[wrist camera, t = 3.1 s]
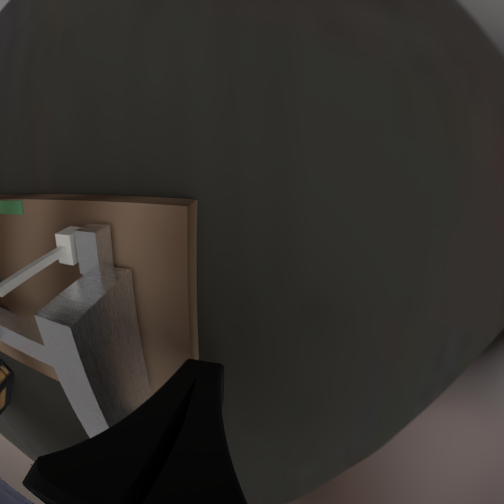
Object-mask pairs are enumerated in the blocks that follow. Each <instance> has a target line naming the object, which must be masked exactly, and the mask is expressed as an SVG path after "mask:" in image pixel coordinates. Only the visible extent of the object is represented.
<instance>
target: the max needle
mask: <svg viewBox="0 0 504 504" xmlns="http://www.w3.org/2000/svg"><path fill="white" fill-rule="evenodd" d="M79 228H81V227H74V226H69V227H67V228H65V229H63V230H61V231H59V232H57V233H55V238H56V245H57V248H55V249H54V250H52V251H50V252H49V253H47V254H45V255H43V256H42V257H40V258H38V259H37V260H35V261H34V262H32V263H30V264H29V265H27V266H25V267H24V268H22V269H21V270H19V271H17V272H16V273H14V274H13V275H11V276H10V277H8V278H7V279H5V280H4V281H2V282H1V283H0V297H3V296H5V295H6V294H7V293H9V292H10V291H12V290H13V289H14V288H16V287H17V286H19V285H20V284H22V283H23V282H24V281H26V280H27V279H29V278H30V277H32V276H33V275H35V274H36V273H38V272H39V271H41V270H42V269H44V268H45V267H47V266H49V265H50V264H52V263H53V262H55V261H56V260H58V259H59V263H63V264H68V265H73V266H74V265H75V264H77V263H78V256H77V248H76V241H75V232H74V231H75V230H77V229H79Z"/></svg>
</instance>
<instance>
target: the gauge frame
mask: <svg viewBox="0 0 504 504" xmlns="http://www.w3.org/2000/svg"><path fill="white" fill-rule="evenodd" d="M197 202H198V200H195V199H181V198H164V197H145V196H122V195H90V194H6V195H0V283H1V282H2V281H4V280H5V279H7V278H8V277H10V276H11V275H13V274H14V273H16V272H17V271H19V270H21V269H22V268H24V267H25V266H27V265H29V264H30V263H32V262H34V261H35V260H37V259H38V258H40V257H42V256H43V255H45V254H47V253H49V252H50V251H52V250H54V249H55V248H57V245H56V238H55V233H57V232H59V231H61V230H63V229H65V228H67V227H69V226H74V227H83V226H85V225H87V224H89V223H96V224H107V225H110V232H111V244H112V254H113V263H114V267H118V268H124V269H131V273H132V282H133V290H134V298H135V306H136V313H137V320H138V326H139V332H140V338H141V344H142V349H143V355H144V360H145V365H146V370H147V374H148V379H149V384H150V388H151V392H152V394H151V396H152V395H153V394H154V393H155V392H156V391H157V390H158V389H159V388H161V387H162V386H163V385H164V384H165V383H166V382H167V381H168V380H169V379H170V377H171V376H172V375H173V374H174V373H175V372H176V371H177V370H178V369H179V368H180V367H181V365H182V364H183V363H184V362H185V361H186V360H187V359H189V358H190V359H195V360H199V351H198V323H197ZM83 275H84V274H80V268H79V262H78V263H77V264H75V265H74V266H73V265H68V264H63V263H59V259H58V260H56V261H55V262H53V263H52V264H50V265H49V266H47V267H45V268H44V269H42V270H41V271H39V272H38V273H36V274H35V275H33V276H32V277H30V278H29V279H27V280H26V281H24V282H23V283H22V284H20V285H19V286H17V287H16V288H14V289H13V290H12V291H10V292H9V293H7V294H6V295H5V296H3V297H0V307H1V308H3V309H5V310H8V311H10V312H12V313H15V314H17V315H19V316H22V317H24V318H27V319H29V320H32V321H34V322H36V319H35V316H34V315H35V314H36V313H37V312H38V311H39V310H41V309H42V308H43V307H44V306H45V305H47V304H48V303H49V302H50V301H51V300H53V299H54V298H55V297H56V296H58V295H59V294H60V293H61V292H63V291H64V290H65V289H66V288H68V287H69V286H70V285H71V284H73V283H74V282H75V281H77V280H78V279H79V278H81V277H82V276H83ZM0 351H2V352H3V353H5V354H7V355H8V356H10V357H12V358H14V359H16V360H17V361H19V362H21V363H23V364H25V365H27V366H29V367H30V368H32V369H34V370H36V371H38V372H40V373H42V374H44V375H47V376H49V377H51V378H53V379H55V380H57V381H59V379H58V376H57V374H56V372H55V369H54V367H52V366H50V365H48V364H46V363H43V362H41V361H39V360H37V359H35V358H33V357H31V356H29V355H27V354H25V353H23V352H21V351H19V350H17V349H15V348H13V347H11V346H10V345H8V344H6V343H4V342H2V341H0ZM59 382H60V381H59ZM151 396H150V397H151Z"/></svg>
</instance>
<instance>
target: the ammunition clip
mask: <svg viewBox="0 0 504 504" xmlns="http://www.w3.org/2000/svg"><path fill="white" fill-rule="evenodd" d="M13 378H14V373H13V372H12V371H11V370H10V369H9V368H8V367H7V366H6V365H5V364H4V362H3V361H2V360H1V361H0V415H1V414H2V412H3V411H4V410H5V409H6V407H7V406H8V405H9V404H10V399H11V391H12V385H13Z"/></svg>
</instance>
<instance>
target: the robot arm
mask: <svg viewBox="0 0 504 504" xmlns="http://www.w3.org/2000/svg"><path fill="white" fill-rule="evenodd" d="M223 390H224V366H223V365H222V364H218V363H212V362H206V361H200V360H195V359H190V358H189V359H187V360H186V361H185V362H184V363H183V364H182V365H181V367H180V368H179V369H178V370H177V371H176V372H175V373H174V374H173V375H172V376H171V377H170V379H169V380H168V381H167V382H166V383H165V384H164V385H163V386H162V387H161V388H159V389H158V390H157V391H156V392H155V393H154V394H153V395H152V396H151V397H150V398H149V399H148V400H146V401H145V402H144V403H143V404H142V405H140V406H139V407H138V408H137V409H136V410H134V411H133V412H132V413H130V414H129V415H128V416H126V417H125V418H124V419H122V420H121V421H119V422H118V423H116V424H115V425H113V426H111V427H110V428H108V429H106V430H105V431H103V432H101V433H99V434H97V435H96V436H94V437H92V438H90V439H87V440H85V441H83V442H81V443H78V444H76V445H74V446H72V447H69V448H66V449H64V450H60V451H57V452H54V453H51V454H47V455H44V456H40V457H38V458H37V460H36V461H35V462H34V464H33V465H32V467H31V469H30V470H29V472H28V474H27V475H26V477H25V479H24V480H23V482H22V483H23V485H24V486H25V487H26V488H27V489H28V490H29V491H30V492H32V493H33V494H34V495H35V496H36V497H38V498H39V499H40V500H41V501H43V502H44V503H45V504H247V502H246V499H245V497H244V495H243V492H242V490H241V487H240V484H239V482H238V479H237V476H236V473H235V470H234V467H233V464H232V461H231V457H230V454H229V450H228V446H227V441H226V436H225V431H224V425H223V418H222V403H223ZM0 504H34V503H33V502H31V501H30V500H28V499H27V498H26V497H24V496H23V495H21V494H20V493H19V492H17V491H16V490H15V489H14V488H12V487H11V486H10V485H8V484H7V483H6V482H5V481H3V480H2V479H1V478H0Z"/></svg>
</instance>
